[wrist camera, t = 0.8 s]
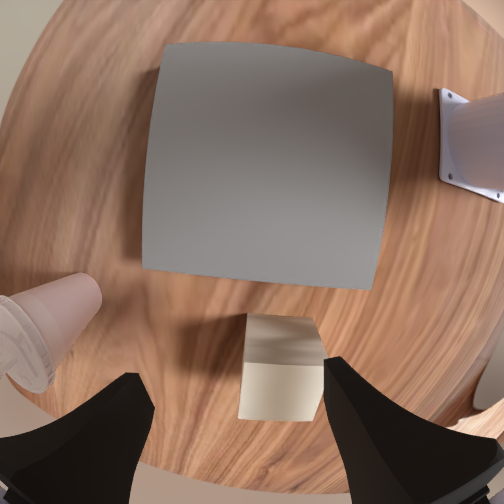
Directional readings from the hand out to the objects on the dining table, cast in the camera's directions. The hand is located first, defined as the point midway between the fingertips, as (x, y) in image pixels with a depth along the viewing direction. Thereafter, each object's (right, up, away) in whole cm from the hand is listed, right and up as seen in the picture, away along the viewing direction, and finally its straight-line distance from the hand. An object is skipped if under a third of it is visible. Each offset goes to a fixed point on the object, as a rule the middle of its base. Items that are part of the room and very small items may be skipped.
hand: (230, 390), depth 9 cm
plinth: (+2, +11, +7) cm, 13 cm away
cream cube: (+3, -2, +11) cm, 11 cm away
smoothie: (-13, +2, +10) cm, 17 cm away
